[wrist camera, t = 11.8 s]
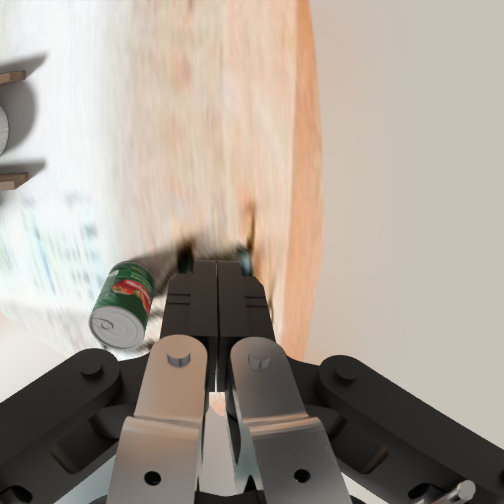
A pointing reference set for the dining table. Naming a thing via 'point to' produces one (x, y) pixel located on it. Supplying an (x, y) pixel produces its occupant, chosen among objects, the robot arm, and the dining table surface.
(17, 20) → the dining table surface
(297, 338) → the dining table surface
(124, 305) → the canned tomato
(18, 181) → the walnut bay
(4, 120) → the ramekin
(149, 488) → the robot arm
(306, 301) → the dining table surface
